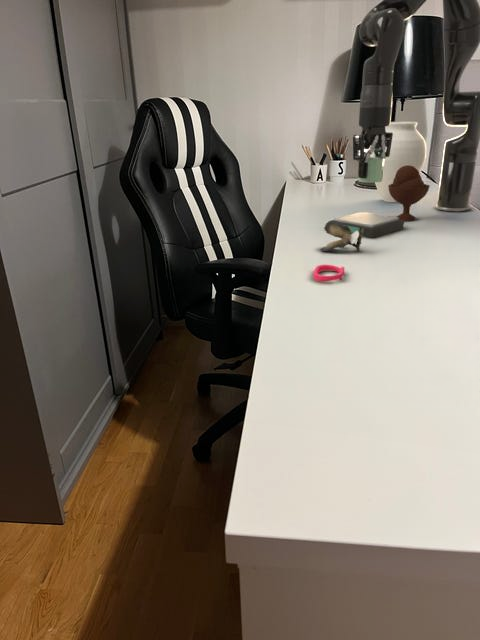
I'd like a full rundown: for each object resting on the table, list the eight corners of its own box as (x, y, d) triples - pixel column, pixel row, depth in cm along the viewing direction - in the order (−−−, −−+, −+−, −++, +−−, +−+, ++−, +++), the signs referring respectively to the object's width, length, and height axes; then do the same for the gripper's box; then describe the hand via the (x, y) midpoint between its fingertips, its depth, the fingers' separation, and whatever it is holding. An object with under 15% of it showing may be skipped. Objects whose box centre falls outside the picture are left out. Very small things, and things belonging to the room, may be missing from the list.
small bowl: (366, 178, 132) (368, 157, 130) (386, 180, 128) (388, 158, 126) (353, 181, 129) (354, 158, 127) (373, 183, 125) (374, 160, 123)
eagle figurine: (360, 240, 119) (322, 232, 120) (367, 219, 113) (327, 211, 114) (355, 264, 115) (317, 256, 116) (362, 244, 109) (321, 235, 110)
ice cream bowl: (428, 223, 138) (435, 167, 132) (386, 222, 140) (391, 167, 134) (423, 215, 148) (429, 162, 142) (384, 215, 150) (388, 163, 144)
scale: (359, 221, 143) (360, 210, 142) (403, 228, 133) (404, 217, 132) (327, 230, 134) (328, 218, 133) (372, 238, 125) (372, 226, 123)
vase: (394, 207, 161) (402, 123, 151) (356, 199, 175) (361, 122, 165) (432, 201, 169) (442, 121, 159) (392, 194, 183) (399, 120, 173)
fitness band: (342, 284, 94) (342, 276, 93) (311, 282, 95) (311, 274, 95) (345, 271, 101) (345, 263, 101) (316, 269, 103) (316, 262, 102)
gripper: (371, 105, 115) (366, 181, 121) (405, 104, 123) (398, 174, 130) (345, 106, 120) (341, 178, 126) (379, 105, 129) (373, 172, 135)
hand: (370, 176), depth 128 cm, fingers closed on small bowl, 6 cm apart
